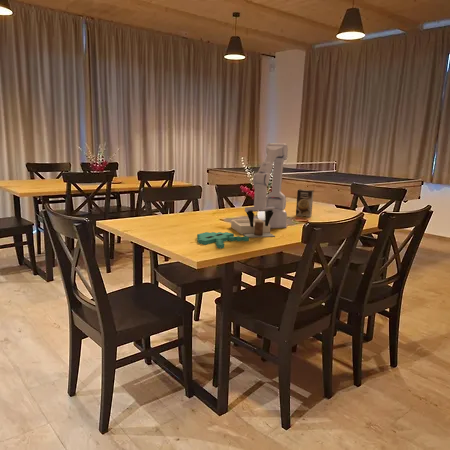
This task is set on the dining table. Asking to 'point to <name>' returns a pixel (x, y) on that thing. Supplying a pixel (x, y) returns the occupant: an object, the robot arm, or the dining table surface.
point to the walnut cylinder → (258, 228)
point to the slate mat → (251, 235)
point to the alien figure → (218, 238)
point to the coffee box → (304, 203)
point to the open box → (247, 226)
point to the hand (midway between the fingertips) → (259, 226)
